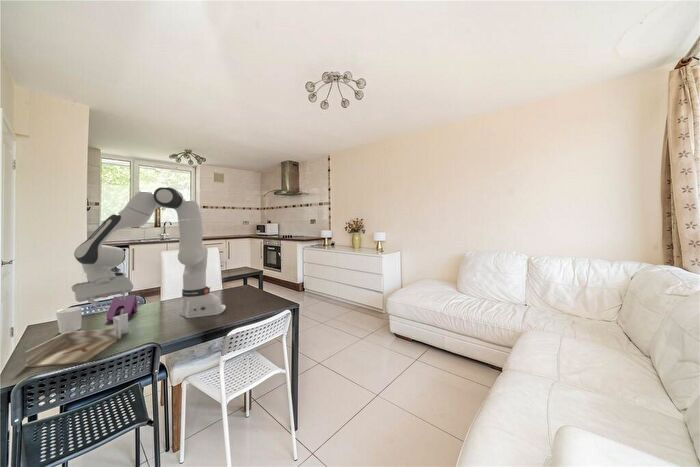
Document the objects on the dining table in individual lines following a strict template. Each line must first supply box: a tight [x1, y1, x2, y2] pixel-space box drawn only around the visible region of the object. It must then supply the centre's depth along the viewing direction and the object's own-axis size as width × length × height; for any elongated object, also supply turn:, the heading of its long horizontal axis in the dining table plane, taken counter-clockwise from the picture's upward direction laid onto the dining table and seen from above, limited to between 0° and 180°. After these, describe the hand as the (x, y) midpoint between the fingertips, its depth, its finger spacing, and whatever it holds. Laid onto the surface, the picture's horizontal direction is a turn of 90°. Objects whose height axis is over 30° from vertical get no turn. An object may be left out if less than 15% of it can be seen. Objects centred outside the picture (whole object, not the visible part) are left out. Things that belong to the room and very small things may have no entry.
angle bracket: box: [112, 314, 129, 340], centre depth 112 cm, size 5×5×9 cm
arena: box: [23, 328, 117, 368], centre depth 98 cm, size 18×16×6 cm
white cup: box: [55, 306, 83, 334], centre depth 117 cm, size 8×8×10 cm
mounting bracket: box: [105, 294, 138, 324], centre depth 135 cm, size 10×8×18 cm
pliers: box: [89, 305, 110, 315], centre depth 145 cm, size 10×2×15 cm
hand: (110, 302), depth 118 cm, fingers open, 8 cm apart
